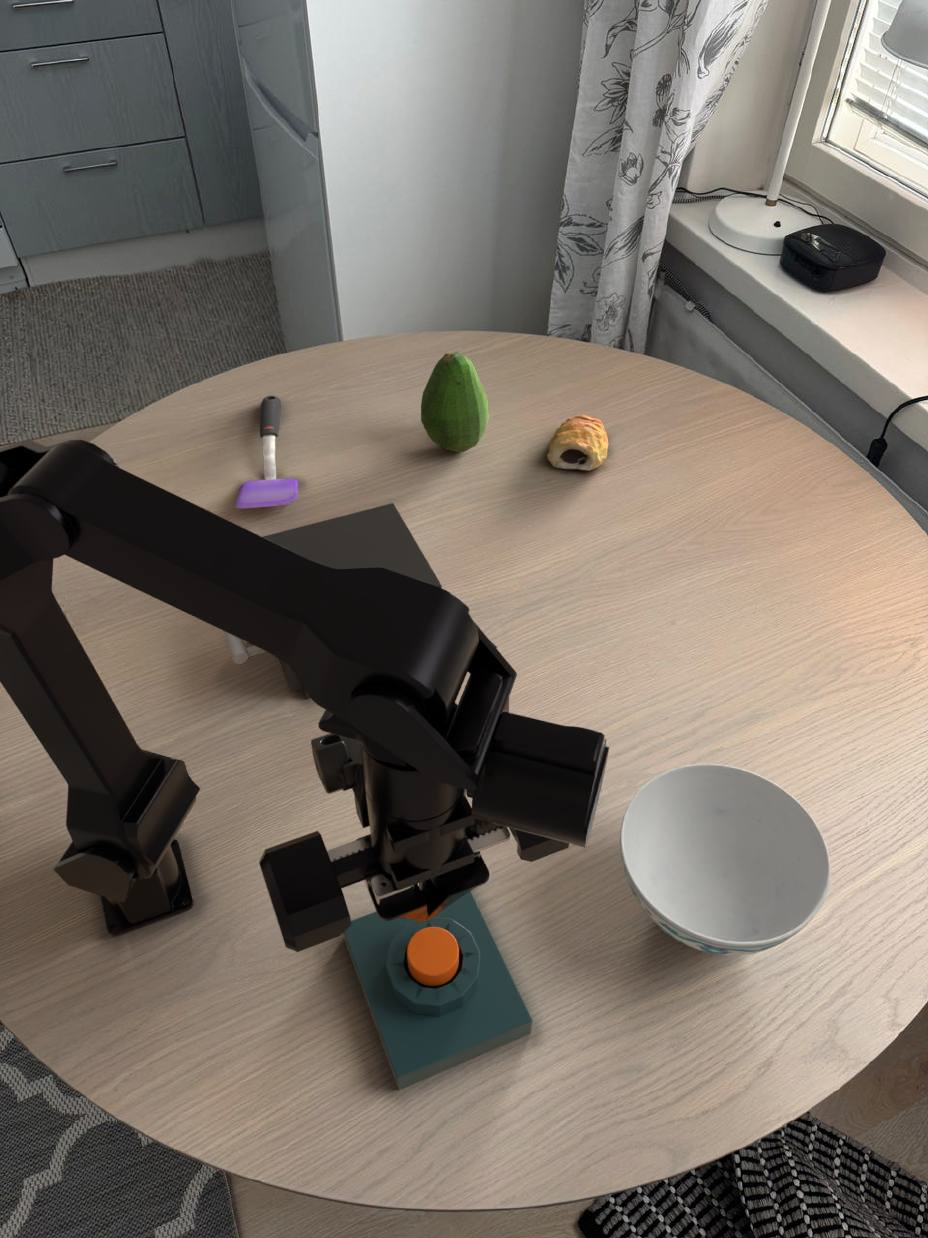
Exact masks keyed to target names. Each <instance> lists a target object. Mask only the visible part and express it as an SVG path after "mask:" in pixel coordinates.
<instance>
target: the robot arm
mask: <svg viewBox="0 0 928 1238" xmlns="http://www.w3.org/2000/svg"><path fill="white" fill-rule="evenodd" d="M63 556H66V557H68V558H70V559H71V560H74V561H77V562H79V563H81V564H83V565H85V566H88V567H89V568H91V569H93V570H95V571H98V572H100V573H102V574H103V575H106V576H107V577H110V578H112V579H114V580H116V581H119V582H121V583H123V584H124V585H127V586H128V587H131V588H133V589H135V590H137V591H140V592H141V593H143V594H145V595H147V596H149V597H151V598H154V599H156V600H158V601H159V602H160V601H161V602H162V603H165V604H167V605H169V606H171V607H172V608H175V609H177V610H179V611H181V612H184V613H186V614H187V615H190V616H192V617H194V618H196V619H198V620H201V621H202V622H204V623H207V624H209V625H211V626H212V627H215V628H216V629H219V630H221V631H222V630H223V631H225V632H227V633H229V634H231V635H234V636H236V637H238V638H240V639H242V640H243V642H246V643H248V644H250V645H252V646H257V647H259V648H261V649H263V650H265V651H266V652H267V653H268V654H270V655H272V656H274V657H275V658H277V659H278V658H279V659H280V660H282V661H284V662H285V663H287V664H288V665H289V666H290V668H291V669H292V671H293V672H294V674H295V675H296V677H297V678H298V680H299V681H300V683H301V684H302V685H303V687H304V688H305V690H306V691H307V693H308V694H309V696H310V697H311V698H310V699H311V700H312V701H313V703H314V704H316V705H317V706H319V707H320V708H322V709H324V712H323V713H322V715H321V718H320V719H319V721H318V726H317V727H318V728H319V730H320V731H322V732H323V733H327V734H325V735H322V736H319V737H315V738H312V739H311V740H310V745H311V752H312V757H313V762H314V765H315V769H316V773H317V776H318V778H319V780H320V782H321V784H322V786H323V788H324V790H325V793H326V794H328V795H330V794H334V793H336V792H340V791H343V792H346V791H349V790H352V793H353V796H354V805H355V811H356V815H357V817H358V820H359V822H360V825H361V827H362V829H365V828H368V827H369V830H370V831H369V832H370V833H369V834H366V835H364V836H361V837H358V838H357V839H355V840H353V841H349V842H347V843H344V844H342V845H339V846H336V847H333V848H331V849H329V850H327V847H326V845H325V842H324V839H323V836H322V834H321V833H320V831H319V830H316V831H314V832H311V833H307V834H304V835H302V836H299V837H296V838H293V839H291V840H288V841H285V842H282V843H279V844H277V845H273V846H271V847H267V848H265V849H264V850H263V852H262V855H261V857H260V859H259V861H258V863H259V868H260V871H261V875H262V878H263V881H264V884H265V887H266V891H267V893H268V896H269V900H270V903H271V905H272V906H271V907H272V909H273V912H274V915H275V919H276V921H277V925H278V927H279V932H280V934H281V938H282V940H283V944H284V946H285V948H286V949H288V950H290V951H293V952H296V953H300V952H302V951H304V950H308V949H310V948H312V947H315V946H318V945H320V944H323V943H325V942H328V941H330V940H333V939H336V938H338V937H340V936H341V935H343V932H344V931H345V930H347V929H348V928H349V927H350V926H351V921H352V920H351V915H350V911H349V908H348V905H347V902H346V898H345V895H344V892H343V889H344V888H347V887H350V886H353V885H355V884H357V883H360V882H364V884H365V887H366V890H367V892H368V895H369V897H370V900H371V902H372V904H373V907H374V909H375V912H377V914H378V917H379V918H380V919H381V920H383V921H391V920H393V919H396V918H405V919H413V920H415V921H418V922H420V923H421V922H424V921H426V920H429V919H432V918H433V917H434V916H436V915H437V914H438V913H440V912H441V911H442V910H444V909H445V908H446V907H448V906H449V905H451V904H452V903H454V902H455V901H456V900H458V899H459V898H461V897H463V896H464V895H466V894H467V893H469V892H470V891H471V892H472V891H473V890H475V889H477V888H478V887H481V886H484V885H485V884H487V883H488V882H489V879H490V870H489V868H488V866H487V864H486V862H485V860H484V858H483V856H482V854H481V851H485V850H487V849H489V848H492V847H494V846H498V845H500V844H502V843H505V842H508V841H509V840H510V839H511V835H512V836H513V838H514V840H515V842H516V844H517V845H516V853H517V856H518V857H519V859H520V860H521V861H525V862H530V863H532V862H535V861H538V860H541V859H544V858H546V857H548V856H551V855H554V854H556V853H559V852H561V851H563V850H568V849H569V847H570V846H571V845H573V846H577V847H581V848H584V849H585V848H587V846H588V843H589V839H590V836H591V832H592V828H593V824H594V820H595V816H596V813H597V807H598V805H599V804H598V803H599V799H600V795H601V791H602V786H603V781H604V777H605V773H606V768H607V763H608V757H609V752H610V745H607V738H605V734H604V733H603V732H602V731H598V730H594V729H590V728H586V727H581V726H574V725H563V724H559V723H555V722H550V721H546V720H541V719H538V718H534V717H529V716H526V715H521V714H517V713H513V712H510V696H511V693H512V690H513V688H514V685H515V682H516V679H517V676H518V673H517V672H516V670H515V669H514V667H512V665H511V664H510V662H509V661H508V660H507V659H506V658H505V657H504V656H503V654H502V653H501V652H500V651H499V649H498V646H497V645H496V644H495V643H493V642H492V641H491V640H490V639H489V637H488V636H487V635H486V634H485V633H484V631H483V630H482V629H481V628H480V627H479V625H478V624H477V623H476V621H474V619H473V618H472V616H471V615H470V612H471V611H470V607H469V606H468V605H467V604H466V603H465V602H464V601H463V600H462V599H461V598H459V597H458V596H456V594H453V593H452V592H450V591H448V590H446V589H444V588H443V587H442V588H440V587H438V586H435V585H432V584H429V583H426V582H424V581H421V580H418V579H415V578H412V577H409V576H406V575H403V574H400V573H397V572H395V571H392V570H389V569H386V568H382V567H362V568H331V567H328V566H326V565H323V564H320V563H317V562H314V561H312V560H309V559H307V558H305V557H303V556H301V555H299V554H297V553H295V552H293V551H291V550H289V549H287V548H285V547H282V546H280V545H278V544H276V543H274V542H272V541H270V540H268V539H266V538H264V537H263V536H262V535H259V534H258V533H255V532H254V531H252V530H249V529H247V528H245V527H243V526H241V525H239V524H238V523H235V522H233V521H230V520H228V519H227V518H224V517H222V516H220V515H218V514H217V513H214V512H212V511H210V510H208V509H206V508H204V507H202V506H200V505H197V504H196V503H194V502H192V501H189V500H188V499H186V498H183V497H181V496H179V495H177V494H175V493H173V492H172V491H169V490H166V489H164V488H162V487H160V486H158V485H156V484H154V483H152V482H150V481H148V480H147V479H144V478H141V477H140V476H138V475H135V474H134V473H131V472H129V471H127V470H125V469H123V468H121V467H120V466H119V465H118V462H117V461H116V460H115V459H114V458H113V457H112V456H111V455H110V454H109V453H108V451H105V449H103V448H101V447H99V446H98V445H96V444H95V443H93V442H90V441H86V440H83V439H69V440H66V441H62V442H59V443H56V444H52V445H49V446H46V445H43V444H41V443H38V442H36V441H34V440H31V439H26V440H23V441H19V442H16V443H12V444H10V445H6V446H3V447H0V684H1V686H2V687H3V689H4V690H5V692H6V693H7V694H8V696H9V698H10V699H11V701H12V702H13V704H14V705H15V707H16V708H17V710H18V711H19V712H20V714H21V716H22V717H23V719H24V720H25V722H26V723H27V725H28V726H29V728H30V729H31V731H32V732H33V734H34V735H35V737H36V738H37V740H38V741H39V743H40V744H41V746H42V747H43V749H44V750H45V752H46V753H47V755H48V757H49V758H50V760H51V761H52V762H53V764H54V765H55V767H56V768H57V770H58V772H59V773H60V775H61V776H62V777H63V779H64V781H65V782H66V784H67V795H66V796H67V797H66V812H65V813H66V814H65V827H66V830H67V832H68V834H69V836H70V839H71V843H70V844H69V845H68V847H67V848H66V849H65V851H64V852H63V854H62V855H61V857H60V858H59V859H58V862H57V863H56V864H55V866H54V867H53V871H54V872H55V873H56V874H57V876H59V878H61V879H62V880H63V881H64V882H65V883H66V885H68V886H69V887H72V888H75V889H79V890H81V891H85V892H88V893H91V894H94V895H98V896H100V900H101V904H102V905H101V906H102V909H103V915H104V920H105V927H106V931H107V933H108V935H109V936H111V937H118V936H120V935H122V934H126V933H128V932H131V931H134V930H136V929H139V928H143V927H145V926H147V925H151V924H153V923H156V922H159V921H161V920H165V919H167V918H170V917H173V916H175V915H178V914H182V913H184V912H188V911H189V910H191V909H193V907H194V905H195V900H194V896H193V893H192V889H191V884H190V881H189V876H188V874H187V869H186V866H185V863H184V858H183V854H182V850H181V846H180V842H179V841H178V840H177V839H175V838H176V836H177V834H178V833H179V831H180V829H181V827H182V826H183V824H184V823H185V821H186V819H187V818H188V816H189V814H190V812H191V811H192V809H193V807H194V805H195V804H196V802H197V796H198V795H199V792H201V787H199V785H197V783H196V782H195V781H194V780H193V779H192V777H191V776H190V775H189V772H188V769H187V765H186V763H185V761H184V760H182V759H179V758H172V757H170V756H167V755H163V754H159V753H156V752H152V751H150V750H145V749H143V748H141V747H140V746H139V744H138V743H137V740H136V739H135V737H134V736H133V734H132V732H131V730H130V729H129V728H130V727H128V725H127V723H126V721H125V720H124V718H123V716H122V714H121V712H120V710H119V709H118V707H117V705H116V703H115V701H114V700H113V698H112V696H111V695H110V693H109V691H108V689H107V687H106V685H105V684H104V682H103V680H102V679H101V677H100V675H99V673H98V671H97V670H96V668H95V666H94V664H93V662H92V661H91V659H90V657H89V656H88V654H87V652H86V649H85V648H84V647H83V644H82V642H81V641H80V640H79V638H78V636H77V633H76V632H75V631H74V629H73V627H72V625H71V623H70V622H69V620H68V618H67V616H66V613H64V610H63V609H62V607H61V605H60V604H59V602H58V600H57V598H56V596H55V594H54V592H53V572H54V559H58V558H59V559H60V558H61V557H63ZM223 631H222V632H223ZM467 674H469V676H468V679H467V680H466V684H465V686H464V688H463V690H462V693H461V695H460V699H459V701H458V704H457V703H456V701H457V699H458V696H459V694H460V691H461V689H462V686H463V684H464V681H465V679H466V677H467ZM468 798H470V799H471V804H470V802H469V800H468ZM172 845H174V846H172ZM187 902H189V903H187ZM186 903H187V904H186ZM114 928H116V929H115V930H113V929H114Z"/></svg>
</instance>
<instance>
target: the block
mask: <svg viewBox="0 0 928 1238" xmlns="http://www.w3.org/2000/svg"><path fill="white" fill-rule="evenodd" d="M428 927H438V928H442V929H445V930H447V931H448V932H449V933H451V934H452V935H453V936H454V938H455V939H456V941H457V944H458V948H459V965H458V969H457V971H456V973H455V975H454V976H453V977H452V979H450V980H449V981H448V982H446V983H444V984H442V985H439V986H427V985H424V984H421V983H419V982H418V981H417V980H415V979H414V978H413V976H412V975H411V973H410V971H409V968H408V960H407V947H408V944H409V941H410V940H411V938H412V937H413V936H414V935H415V934H416V933H417V932H418V931H420V930H422V929H424V928H428ZM342 937H343V941H344V944H345V946H346V949H347V952H348V955H349V958H350V960H351V963H352V966H353V969H354V971H355V974H356V977H357V979H358V983H359V985H360V988H361V990H362V993H363V997H364V999H365V1001H366V1004H367V1008H368V1010H369V1013H370V1015H371V1018H372V1021H373V1024H374V1027H375V1029H376V1032H377V1035H378V1038H379V1040H380V1043H381V1046H382V1048H383V1052H384V1054H385V1057H386V1060H387V1063H388V1065H389V1068H390V1071H391V1073H392V1076H393V1079H394V1082H395V1085H396V1088H397V1090H398V1091H401V1090H403V1089H406V1088H407V1087H409V1086H412V1085H415V1084H416V1083H419V1082H421V1081H424V1080H426V1079H428V1078H431V1077H433V1076H436V1075H438V1074H440V1073H442V1072H445V1071H447V1070H449V1069H452V1068H453V1067H456V1066H458V1065H461V1064H463V1063H465V1062H467V1061H470V1060H473V1059H475V1058H477V1057H479V1056H482V1055H484V1054H486V1053H488V1052H490V1051H493V1050H496V1049H497V1048H500V1047H502V1046H505V1045H506V1044H507V1045H508V1044H510V1043H512V1042H513V1041H516V1040H519V1039H520V1038H523V1037H525V1036H527V1035H530V1034H531V1033H532V1027H533V1018H532V1016H531V1014H530V1012H529V1010H528V1008H527V1005H526V1003H525V1002H524V999H523V997H522V995H521V992H520V991H519V989H518V986H517V985H516V982H515V980H514V978H513V975H512V974H511V971H510V970H509V968H508V966H507V963H506V961H505V959H504V957H503V955H502V953H501V951H500V948H499V947H498V944H497V942H496V940H495V938H494V936H493V933H492V931H491V929H490V928H489V925H488V923H487V921H486V919H485V917H484V915H483V913H482V910H481V908H480V907H479V904H478V902H477V900H476V898H475V896H474V894H473V892H472V891H470V892H469V893H467V894H466V895H464V896H463V897H461V898H459V899H458V900H456V901H455V902H454V903H452V904H451V905H449V906H448V907H446V908H445V909H444V910H442V911H441V912H440V913H438V914H437V915H436V916H434V917H433V918H432V919H429V920H426V921H424V922H421V923H420V922H418V921H415V920H413V919H405V918H396V919H393V920H391V921H383V920H381V919H380V918H379V917H378V914H377V912H376V911H373V912H371V913H369V914H368V913H367V914H366V915H363V916H360V917H358V918H355V919H353V920H351V926H350V927H349V928H348V929H347V930H345V931H344V932H343V933H342Z"/></svg>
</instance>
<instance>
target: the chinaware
mask: <svg viewBox="0 0 928 1238" xmlns="http://www.w3.org/2000/svg"><path fill="white" fill-rule="evenodd" d="M619 848H620V849H619V851H620V857H621V862H622V866H623V871H624V874H625V877H626V880H627V883H628V886H629V887H630V890H631V892H632V894H633V896H634V898H635V900H636V901H637V902H638V904H639V905H640V907H641V908H642V910H643V911H644V912H645V914H646V915H647V916H648V917H649V919H650V920H651V921H652V922H653V923H654V924H655V925H656V926H657V927H659V929H660V930H662V931H663V932H664V933H665V934H667V935H669V936H670V937H671V938H673V939H674V940H676V941H678V942H679V943H681V944H684V945H686V946H688V947H690V948H693V949H695V950H698V951H701V952H704V953H709V954H713V955H720V956H745V955H752V954H757V953H760V952H764V951H766V950H770V949H772V948H775V947H776V946H779V945H781V944H783V943H785V942H786V941H788V940H790V939H791V938H792V937H794V936H796V935H797V934H798V933H799V932H800V931H802V930H803V929H805V927H806V926H807V925H809V923H811V922H812V921H813V919H814V918H815V917H816V916H817V914H818V913H819V912H820V910H821V909H822V907H823V905H824V903H825V902H826V898H827V896H828V892H829V889H830V885H831V876H832V870H831V869H832V868H831V867H832V866H831V857H830V852H829V849H828V846H827V843H826V840H825V838H824V835H823V833H822V831H821V829H820V827H819V825H818V824H817V822H816V821H815V819H814V818H813V816H812V815H811V814H810V812H809V811H808V810H807V809H806V808H805V807H804V806H803V804H802V803H801V802H799V800H797V798H795V797H794V796H793V795H792V794H790V792H788V791H787V790H785V789H784V788H783V787H781V786H779V785H778V783H776V782H774V781H771V780H770V779H768V778H766V777H765V776H762V775H760V774H758V773H755V772H753V771H750V770H747V769H744V768H741V767H736V766H731V765H726V764H720V763H694V764H688V765H687V764H686V765H682V766H678V767H675V768H671V769H669V770H666V771H664V772H661V773H660V774H658V775H656V776H654V777H653V778H651V779H650V780H649V781H647V782H646V783H645V784H644V785H642V786H641V788H639V789H638V791H636V793H635V794H634V795H633V797H632V798H631V800H630V801H629V802H628V805H627V807H626V809H625V811H624V813H623V817H622V821H621V824H620V830H619Z"/></svg>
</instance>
